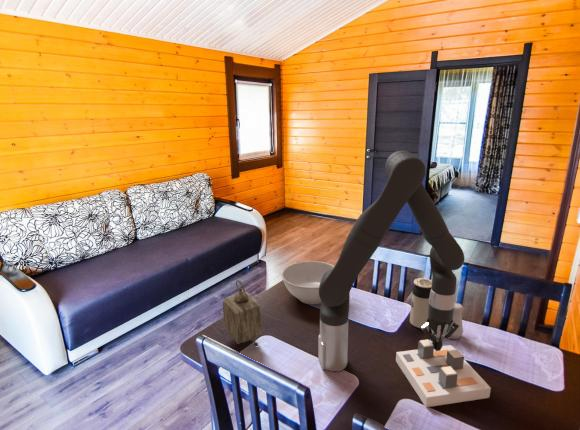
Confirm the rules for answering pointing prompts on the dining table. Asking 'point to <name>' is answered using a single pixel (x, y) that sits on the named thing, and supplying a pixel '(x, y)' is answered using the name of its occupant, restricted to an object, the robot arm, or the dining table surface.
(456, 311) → the salt shaker
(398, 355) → the tray
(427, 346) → the knob far
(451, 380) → the grey block
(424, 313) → the travel mug
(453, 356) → the knob mid
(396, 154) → the robot arm
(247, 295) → the brown wooden lantern
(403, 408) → the dining table surface
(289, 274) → the decorative bowl
